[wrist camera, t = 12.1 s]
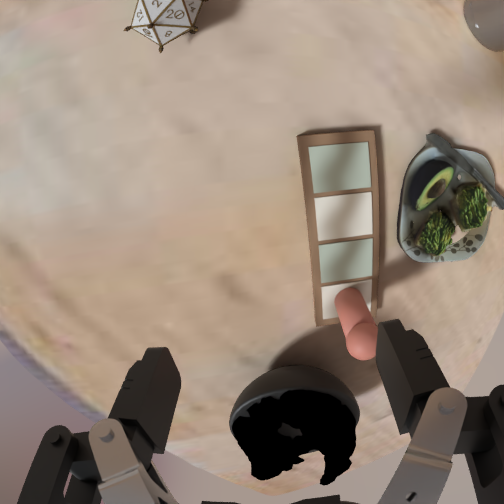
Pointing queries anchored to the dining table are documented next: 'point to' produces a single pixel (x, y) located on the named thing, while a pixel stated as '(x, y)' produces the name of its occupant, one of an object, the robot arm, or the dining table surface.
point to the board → (341, 217)
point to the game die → (165, 19)
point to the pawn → (356, 324)
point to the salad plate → (445, 202)
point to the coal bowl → (295, 421)
